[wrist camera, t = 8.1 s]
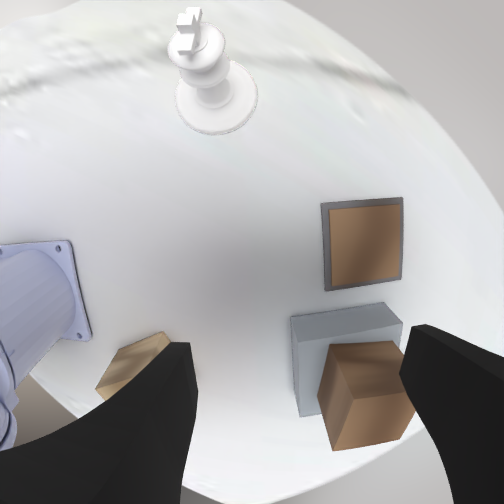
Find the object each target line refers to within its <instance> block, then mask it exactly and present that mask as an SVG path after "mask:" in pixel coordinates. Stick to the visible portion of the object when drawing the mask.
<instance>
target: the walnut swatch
mask: <svg viewBox="0 0 504 504" xmlns="http://www.w3.org/2000/svg"><path fill="white" fill-rule="evenodd" d="M321 212H322V228H323V247H324V274H325V291H333V290H339V289H346V288H353V287H359V286H365V285H371V284H377V283H383V282H389V281H395V280H401V277H402V260H403V198H402V197H400V198H383V199H369V200H355V201H342V202H330V203H321Z"/></svg>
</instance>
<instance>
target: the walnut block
mask: <svg viewBox="0 0 504 504" xmlns="http://www.w3.org/2000/svg"><path fill="white" fill-rule="evenodd" d="M403 358H404V355H403V353H402V352H401V351H400V349H399V348H398V347H397V345H396V344H395V343H394V342H393V340H392V341H379V342H363V343H342V344H329V348H328V353H327V357H326V361H325V366H324V370H323V374H322V378H321V382H320V386H319V390H318V393H317V399H318V402H319V406H320V409H321V413H322V416H323V419H324V423H325V426H326V430H327V433H328V437H329V440H330V444H331V448H332V451H339V450H346V449H353V448H359V447H365V446H370V445H376V444H381V443H385V442H390V441H394V440H398V439H400V438H401V436H402V434H403V433H404V431H405V429H406V428H407V426H408V424H409V422H410V421H411V419H412V417H413V415H414V413H415V411H416V410H415V408H414V406H413V405H412V403H411V401H410V399H409V398H408V396H407V393H406V391H405V389H404V386H403V384H402V381H401V378H400V376H399V371H400V368H401V364H402V361H403Z"/></svg>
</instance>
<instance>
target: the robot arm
mask: <svg viewBox="0 0 504 504" xmlns="http://www.w3.org/2000/svg"><path fill="white" fill-rule="evenodd" d="M59 246H60V247H61V251H60V250H59ZM79 333H80V334H81V335H82V336H81V335H80V334H79ZM91 337H92V335H91V331H90V328H89V324H88V321H87V317H86V313H85V310H84V306H83V302H82V298H81V293H80V289H79V285H78V280H77V275H76V270H75V265H74V260H73V254H72V248H71V244H70V243H69V242H68V241H65V240H64V241H49V242H35V243H21V244H8V245H0V504H180V494H181V484H182V478H183V473H184V468H185V464H186V459H187V455H188V450H189V446H190V442H191V437H192V433H193V428H194V424H195V419H196V410H197V399H198V388H197V382H196V376H195V371H194V365H193V359H192V352H191V346H190V343H189V342H170V343H169V344H168V345H167V346H166V347H165V348H164V349H163V350H162V351H161V352H160V353H159V354H158V355H157V356H156V357H155V358H154V359H153V360H152V361H151V362H150V363H149V364H148V365H147V366H146V367H145V368H143V369H142V370H141V371H140V372H139V373H138V374H137V375H136V376H135V377H134V378H133V379H132V380H131V381H129V382H128V383H127V384H126V385H125V386H123V387H122V388H121V389H120V390H119V391H117V392H116V393H115V394H114V395H112V396H111V397H110V398H109V399H107V400H106V401H105V402H103V403H102V404H101V405H99V406H98V407H96V408H95V409H93V410H92V411H90V412H89V413H87V414H86V415H84V416H83V417H81V418H79V419H78V420H76V421H74V422H72V423H70V424H68V425H67V426H64V427H62V428H61V429H59V430H57V431H55V432H53V433H51V434H49V435H46V436H44V437H42V438H39V439H37V440H34V441H31V442H29V443H26V444H23V445H20V446H17V447H14V448H12V447H13V444H14V441H15V438H16V433H17V423H16V419H15V417H14V415H13V413H12V410H13V409H14V408H15V406H16V405H17V404H18V402H19V399H18V398H17V396H16V393H15V391H14V390H15V389H16V388H17V386H18V385H19V384H20V383H21V382H22V380H23V379H24V378H25V377H26V376H27V375H28V373H29V372H30V371H31V370H32V369H33V368H34V366H35V365H36V364H37V363H38V362H39V361H40V360H41V358H42V357H43V356H44V355H45V354H46V353H47V352H48V351H49V349H50V348H51V347H52V346H53V345H54V344H55V343H56V342H57V341H58V340H59V338H62V339H70V340H78V341H89V340H90V339H91ZM399 376H400V378H401V381H402V384H403V386H404V389H405V391H406V393H407V396H408V398H409V399H410V401H411V403H412V405H413V406H414V408H415V410H416V412H417V413H418V415H419V417H420V418H421V420H422V422H423V424H424V425H425V427H426V429H427V431H428V432H429V434H430V436H431V438H432V439H433V441H434V443H435V445H436V447H437V449H438V452H439V454H440V457H441V460H442V462H443V465H444V468H445V471H446V474H447V477H448V481H449V484H450V488H451V492H452V497H453V501H454V504H504V357H502V356H499V355H497V354H494V353H492V352H489V351H487V350H485V349H482V348H480V347H478V346H476V345H473V344H471V343H469V342H467V341H465V340H463V339H460V338H458V337H456V336H454V335H452V334H450V333H447V332H445V331H443V330H440V329H438V328H435V327H433V326H430V325H427V324H424V325H418V326H412V327H411V331H410V335H409V339H408V343H407V347H406V350H405V354H404V358H403V361H402V364H401V368H400V371H399Z"/></svg>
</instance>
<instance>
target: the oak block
mask: <svg viewBox="0 0 504 504" xmlns="http://www.w3.org/2000/svg"><path fill="white" fill-rule="evenodd" d="M170 342H171V341H170V340H169V339H168V337H167V336H166V334H165V333H164V332H163V331H162V332H160V333H158V334H155V335H153V336H150V337H148V338H146V339H143V340H141V341H138V342H136V343H133V344H131V345H129V346H126V347H124V348H121V349H119V350H118V352H117V353H116V355H115V356H114V358H113V360H112V361H111V363H110V365H109V366H108V368H107V370H106V371H105V373H104V375H103V376H102V378H101V380H100V382H99V383H98V385H97V387H96V388H95V390H96V391H97V392H98V393H99V394H100V395H101V397H102V398H103V399H104V400H105V401H106V400H107V399H109V398H110V397H111V396H112V395H114V394H115V393H116V392H117V391H119V390H120V389H121V388H122V387H123V386H125V385H126V384H127V383H128V382H129V381H131V380H132V379H133V378H134V377H135V376H136V375H137V374H138V373H139V372H140V371H141V370H142V369H143V368H145V367H146V366H147V365H148V364H149V363H150V362H151V361H152V360H153V359H154V358H155V357H156V356H157V355H158V354H159V353H160V352H161V351H162V350H163V349H164V348H165V347H166V346H167V345H168V344H169V343H170ZM195 376H196V375H195Z"/></svg>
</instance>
